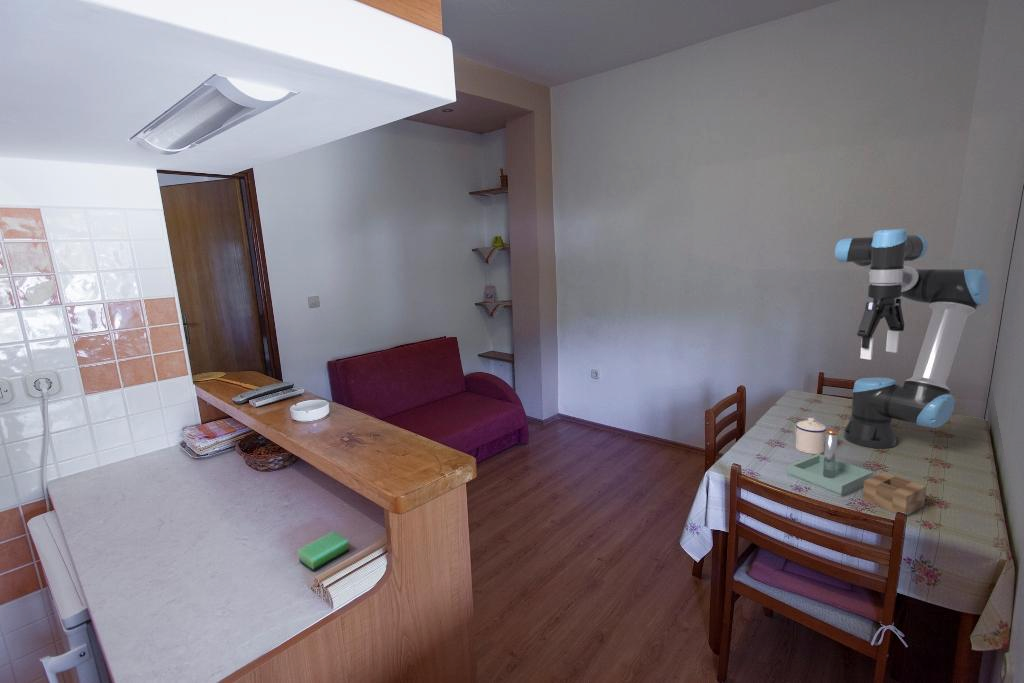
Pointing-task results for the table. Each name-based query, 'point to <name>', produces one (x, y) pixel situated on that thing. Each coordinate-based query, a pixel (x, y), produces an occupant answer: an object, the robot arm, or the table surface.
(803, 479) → the tray
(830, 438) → the pin
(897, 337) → the robot arm
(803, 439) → the teacup with lid
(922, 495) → the block
